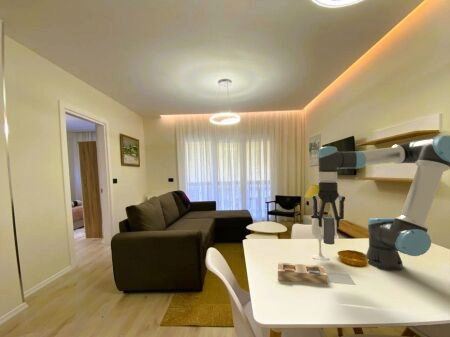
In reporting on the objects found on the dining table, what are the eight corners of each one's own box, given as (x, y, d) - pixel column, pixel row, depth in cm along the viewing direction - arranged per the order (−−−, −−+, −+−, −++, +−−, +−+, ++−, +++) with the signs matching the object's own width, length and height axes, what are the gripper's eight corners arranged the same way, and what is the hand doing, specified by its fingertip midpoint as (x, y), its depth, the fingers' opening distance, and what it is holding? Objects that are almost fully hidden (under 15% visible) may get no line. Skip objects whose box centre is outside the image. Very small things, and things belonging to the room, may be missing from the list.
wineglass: (311, 259, 117) (310, 220, 117) (312, 254, 125) (310, 217, 125) (329, 262, 114) (328, 221, 114) (328, 256, 122) (327, 218, 122)
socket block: (323, 274, 100) (323, 264, 100) (327, 284, 91) (327, 273, 91) (278, 270, 105) (278, 261, 105) (278, 279, 96) (277, 269, 96)
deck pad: (348, 274, 99) (348, 273, 99) (355, 285, 90) (355, 284, 90) (324, 272, 102) (324, 271, 102) (329, 283, 92) (329, 282, 92)
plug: (333, 241, 98) (332, 217, 98) (335, 244, 94) (335, 219, 94) (322, 241, 99) (322, 216, 99) (324, 244, 95) (324, 218, 95)
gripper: (347, 181, 99) (348, 233, 98) (306, 181, 103) (306, 231, 102) (352, 182, 91) (353, 238, 91) (308, 181, 96) (308, 235, 95)
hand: (328, 234), depth 97 cm, fingers closed on plug, 4 cm apart
